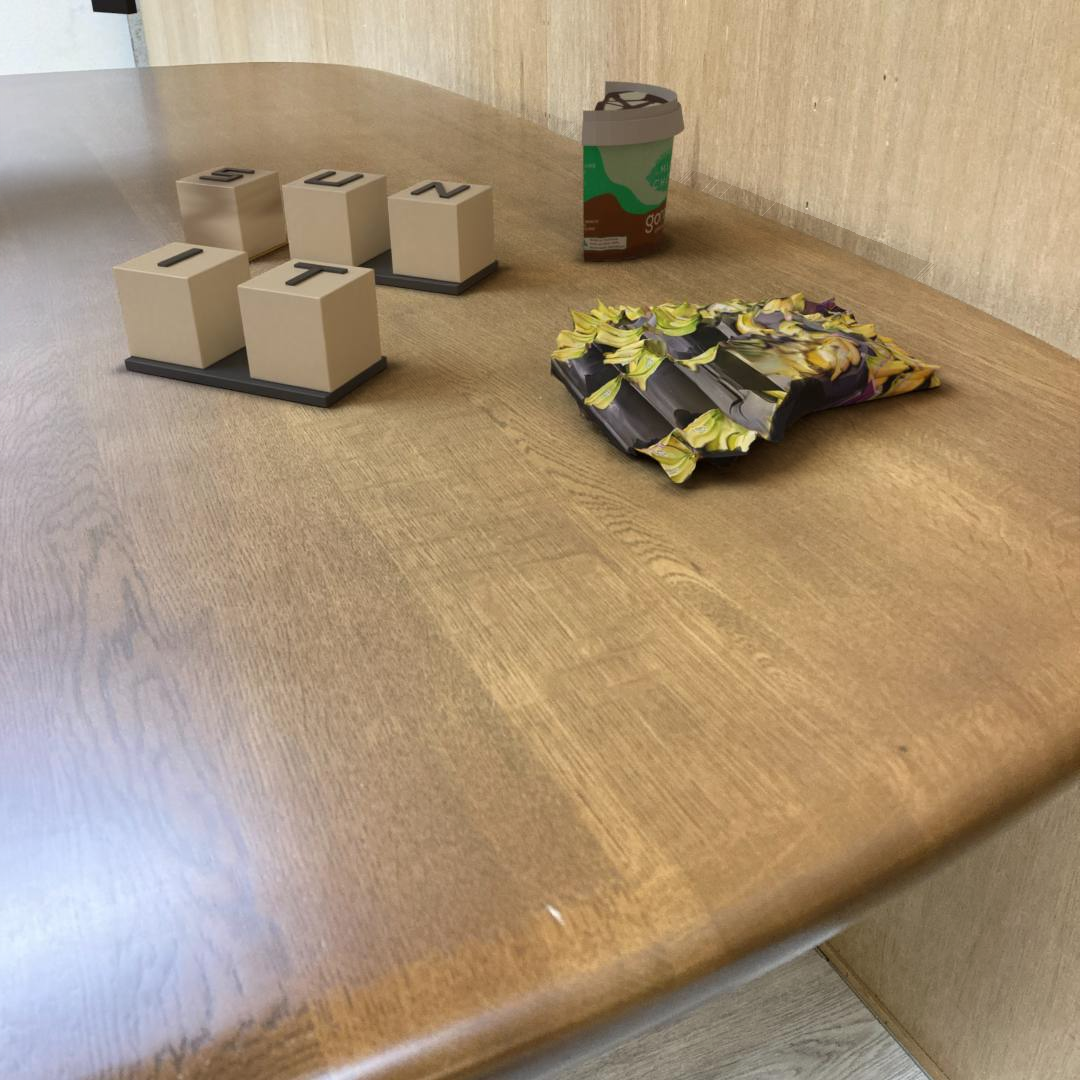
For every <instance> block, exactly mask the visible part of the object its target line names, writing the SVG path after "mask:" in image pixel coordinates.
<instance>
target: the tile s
mask: <svg viewBox="0 0 1080 1080" xmlns="http://www.w3.org/2000/svg"><path fill="white" fill-rule="evenodd" d="M175 186H176V187H175V188H176V192H177V199H178V203H179V204H178V205H179V210H180V215H181V222H182V227H183V233H184V240H185V243H186V244H193V245H201V246H208V247H215V248H223V249H230V250H237V251H244V252H247V254H248V259H249V258H252V257H254V256H256V255H258V254H260V253H262V252H265V251H267V250H269V249H271V248H273V247H276V246H278V245H280V244H282V243H284V242H286V241H287V240H288V239H287V232H286V226H285V225H286V224H285V217H284V209H283V201H282V193H281V192H282V191H281V184H280V177H279V172H278V171H277V170H267V169H260V168H259V169H258V168H249V167H240V166H230V165H218V166H215V167H213V168H209V169H206V170H204V171H203V170H202V171H200V172H197V173H195V174H191V175H188V176H186V177H183V178H179V179H177V180H175Z"/></svg>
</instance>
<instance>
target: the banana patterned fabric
mask: <svg viewBox="0 0 1080 1080" xmlns="http://www.w3.org/2000/svg"><path fill="white" fill-rule="evenodd" d="M595 299H596V302H597V304H598V306H597V308H595V309H591V310H590V315H589V314H587V313H584V312H581V311H580V312H579V311H577V310H575V309H572V308H571V306H567V311H568V312H569V314H570V317H571V319H572V325H573V329H572V330H568V329H561V330H559V332H558V336H557V338H556V339H555V342H556V345H557V346H556V347H557V350H554V351H552V353H551V355H550V372H549V374H550V377H552V376H553V377H554V378H555V379H556V380H558V381H559V382H561V383H562V384H563V385H564V387H565V389H566V390H567V391H568V392H569V393H570V396H571V397H573V399H574V400H575V401H576V404H577V407H578V411H579V415H580V417H581V418H585V419H586V420H588V421H590V422H591V423H592V424H593V425H594V426H595V427H597V428H598V429H599V431H600V432H601V433H602V434H603V435H604V437H605V438H606V439H607V440H608V441H609V442H610V443H611V444H612V445H613V446H614V447H615V448H616V449H618V450H619V451H620V452H622V453H624V454H626V455H633V456H634V457H636V456H638V455H639V454H643V455H646V456H647V457H651V458H652V459H654V460H656V461H657V462H658V464H659V465H660V466H661V468H662V469H663V470H664V472H665V473H666V474H667V476H668V477H669V478H670V480H671V481H672V482H674V483H676V484H681V483H684V482H685V481H687V480H688V479H689V478H690V477H691V476H692V474H693V472H694V470H695V468H696V465H697V462H700V461H704V460H705V462H708V463H709V464H711V465H713V466H715V467H717V468H721V469H730V468H731V467H732V466H733V465H734V464H735V463H736V462H737V460H738V459H737V458H738V457H739V456H747V455H748V454H749V453H750V452H751V451H752V450H754V449H755V448H756V447H757V446H758V445H759V444H761V443H764V442H769V443H780V442H783V440H784V437H785V434H786V432H787V431H788V430H789V428H790V427H791V426H792V425H793V424H794V423H795V422H797V421H798V420H799V419H800V418H802V417H803V416H805V414H807V413H813V412H818V411H822V410H827V409H832V408H837V407H843V406H848V405H853V404H857V403H862V402H867V401H871V400H876V399H881V398H888V397H892V396H893V397H895V396H900V395H902V394H905V393H910V392H913V391H917V390H923V389H930V388H935V387H939V386H940V385H941V381H940V379H939V378H938V377H936V375H935V371H937V370H939V369H941V366H940V365H936V364H930V363H926V362H924V361H922V360H920V359H918V358H916V357H914V356H912V355H911V354H908V352H906V351H905V350H904V349H902V348H900V347H899V346H898V345H896V344H895V343H894V339H893V338H890V337H887V336H884V335H882V334H880V333H878V332H876V324H875V323H867V324H866V323H863V322H859V321H857V320H856V317H855V313H854V312H853V311H851V310H847V309H846V308H845V309H844V308H842V307H841V306H838V304H836V301H835V300H836V297H835V296H831V297H830V298H827V299H825V300H823V301H820V302H815V301H812V300H807V298H806V297H805V296H804V294H803V293H802V292H798V293H795V294H793V295H789V296H785V297H779V298H778V297H777V298H765V299H762V300H759V301H756V302H750V301H747V300H743V299H742V298H732V299H729V300H726V301H724V302H721V301H714V302H712V303H710V304H696V303H689V302H688V300H685V301H684V302H683V303H680V302H679V303H678V302H672V301H667V302H665V303H663V304H660V305H648V306H647V305H642V306H640V307H633V306H631V305H629V306H626V305H623V304H619V307H618V309H616V308H615V307H613V306H611V305H609V306H608V308H607V307H606V306H605V304H604V303H603V302H602V301H601V300H600V299H599V298H598V297H595Z"/></svg>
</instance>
